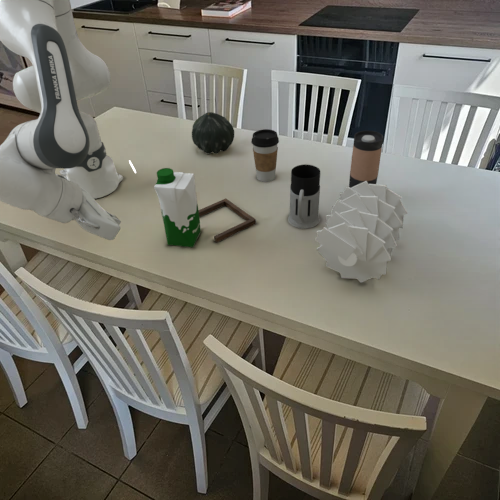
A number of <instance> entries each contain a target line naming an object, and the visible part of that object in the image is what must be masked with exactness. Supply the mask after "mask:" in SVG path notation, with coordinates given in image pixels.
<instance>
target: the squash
mask: <svg viewBox="0 0 500 500" xmlns="http://www.w3.org/2000/svg"><path fill="white" fill-rule="evenodd" d="M191 139H192V142H193V144H194V145H195V146H196V147H197V148H198V150H201V151H203V152H204V153H205V154H206V155H210V154H212V153H213V154H214V155H217V154H219V153H220V152H226V151H228V149H230V146H231V145H232V144H233V143H234V139H235V129H234V126H233V125H232V123H231V122H230V121H229V120H228V119H227V118H226V117H225V116H223V115H220V114H219V113H216V112H212V111H211V112H205V113H204V114H202V115H201V116H199V117H198V118H197V119H195V121H194V122H193V124H192V128H191Z"/></svg>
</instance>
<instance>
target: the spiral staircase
mask: <svg viewBox="0 0 500 500" xmlns="http://www.w3.org/2000/svg"><path fill="white" fill-rule="evenodd" d="M402 199H403V196H402V195H400V194H398V193H396V192H395V191H394V190H391V189H390V188H387V184H378V183H376V184H368V182H367V181H365V182H363V183H360V184H358V185H356V186H353V187H352V188H350V187H349V185H347V186H346V188H344V190H343V192H339V198H338V199H337V200H336V202H335V204H334V205H332V207H331V211H330V214H326V215H325V218H326V221H325V223H324V224H325V226H327V227H325V226H323V228H322V229H321V230H320V229H319V230H316V235H317V236H316V237H315V239H314V241H315V242H316V243H318V244H319V246H318V247H316V249H315V250H316V251H317V252H318V253H319V255H320V256H321V257H322V258H323V259H324V260H325V261H326V263H325V267H326V268H329V269H330V270H333V271H335V272H337V273H339V274H340V279H357V280H358V282H359V283H360V284H362V283H364V282H366V281H368V280H370V279H372V278H374V279H376V280H380V279H381V277H382V275H384V276H386V275H387V266H388V262H390V261H392V252H393V248H397V247H398V244H397V242H396V241H400V229H403V228H404V218H405V215H408V214H409V212H408V211H407V209H406V207H405V205H404V204H403V201H402Z"/></svg>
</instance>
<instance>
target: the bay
mask: <svg viewBox="0 0 500 500" xmlns="http://www.w3.org/2000/svg"><path fill="white" fill-rule="evenodd" d="M223 207H226V208H228V209H229V210H230V211H232V212H233V213H235V214H236V215H238V216H239V217H241V218H242V220H244V221H243V222H241V223H239V224H236V225H234V226H232V227H230V228H228V229H226V230H224V231H222V232H219V233H217V234H215V235H214V236H213V240H214V242H215V243H219V242H221V241H223V240H226V239H227V238H229V237H232V236H235V235H236V234H238V233H240V232H243V231H245V230H247V229H248V228H250V227H252V226H254V225H256V224H257V219H256V218H255V217H253V216H252V215H250V214H249V213H248V212H246V211H244V210H243V209H242V208H240V207H239V206H238V205H236V204H235V203H233V202H232V201H230V200H229V199H227V198H224V199H223V198H222V199H221V200H218V201H217V202H214V203H213V204H209V205H208V206H205V207H203V208H200V209H198V211H199V218H201V217H202V216H205V215H207V214H209V213H211V212H214V211H216V210H218V209H221V208H223Z"/></svg>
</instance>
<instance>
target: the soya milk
mask: <svg viewBox="0 0 500 500" xmlns="http://www.w3.org/2000/svg"><path fill="white" fill-rule="evenodd" d="M156 178H157V179H156V182H155V185H154V186H153V188H154V191H155V193H156V195H157V198H158V202H159V207H160V212H161V217H162V222H163V226H164V233H165V239H166V243H167V246H175V247H186V248H194V247H195V245H196V242H197V241H198V238H199V236H200V234H201V232H202V231H201V217H199V211H198V210H199V205H198V197H197V190H196V179H195V173H191V172H190V173H189V172H182V171H174V169H172V168H170V167H163V168H160V169H158V170H157V171H156Z"/></svg>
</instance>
